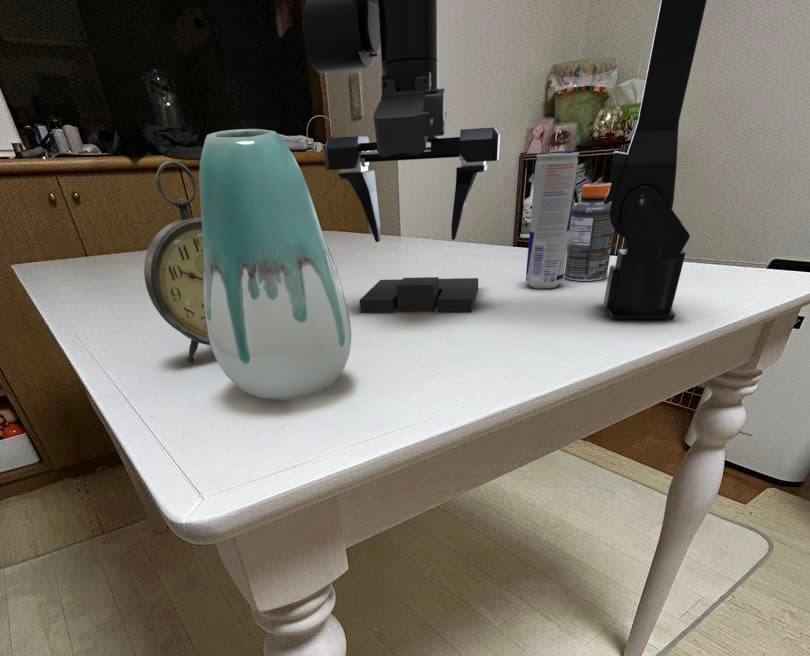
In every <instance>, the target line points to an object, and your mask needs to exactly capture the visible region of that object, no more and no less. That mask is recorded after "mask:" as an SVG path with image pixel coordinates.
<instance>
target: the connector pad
mask: <svg viewBox="0 0 810 656" xmlns="http://www.w3.org/2000/svg"><path fill="white" fill-rule="evenodd" d="M401 279H402V280H401V281H400V282H399V284H398V285H397V302H398V306H397V312H435V311H436V309H437V299H438V297H439V279H440V277H439V276H430V277H429V276H428V277H426V276H425V277H423V276H422V277H403V278H401Z"/></svg>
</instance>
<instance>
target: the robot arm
mask: <svg viewBox="0 0 810 656" xmlns="http://www.w3.org/2000/svg"><path fill="white" fill-rule="evenodd" d="M438 1H439V0H305V3H304V7H303V22H302V23H301V27H302V36H303V42H304V46H305V51H306V53H307V56H308V60H309V61H310V63H311V66H312V67H313V69H314V70H315V71H316V72H317V73H319V74H325V73H335V72H343V71H352V70H361V69H362V70H363V69H370V68H371V67H372V65H373V63H374V61H375V57H379V55H380V56H381V57H380V58H381V84H380V85H381V97H380V101H379V102H378V104H377V107H376V108H375V111H374V112H373V115H372V116H373V117H372V118H373V125H374V132H375V133H374V134H375V141H374V142H370V139H369V136H366V135H365V136H364V135H362V136H361V135H359V136H343V137H342V136H341V137H328V138H327V140H326V142H325V144H324V150H323V156H324V164H325V171H335V170H339V173H338V174H337V175H338V178H339V180H346V181H347V182H348V183H349V184H350V186H351V188H352V190H354V192H355V194H356V196H357V198H358V200H359V202H360V204H361V207H362V209H363V211H364V215H365V218H366V220H367V222H368V225H369V227H370V230H371V233H372V236H373V238H374V241H375V243H379V242H381V219H380V209H379V200H378V191H377V182H376V180H377V179H376V171H375V170H372V169H370V170H369V166H370V163H377V162H378V163H379V162H396V161H413V160H414V161H415V160H432V159H446V158H447V159H449V158H459V161H460V162H461V165H460V166H457V167H456V171H455V172H456V173H455V188H454V196H453V197H454V198H453V207H452V217H451V229H450V230H451V232H450V233H451V240H452V241H455V240H456V238H457V235H458V232H459V228H460V225H461V222H462V218H463V214H464V210H465V207H466V203H467V200H468V197H469V195H470V192H471V190H472V187H473V185H474V182H475V180H476V177H477V174H478V173H484V172H485V171H487V170H488V164H487V163H486V162H496V161H499V159H500V148H501V147H500V144H501V134H500V132H499V131H498V130H497V129H496V128H495V127H480V128H479V127H478V128H466V129H465V128H463V129H460V132H459V136H453V137H442V136H444V135H445V132H446V129H447V121H448V120H447V118H448V117H447V101H446V89H445V88H439V17H438V16H439V15H438V13H439V10H438V6H439V5H438V3H439V2H438ZM707 2H708V0H660V3H659V9H658V14H657V18H656V25H655V29H654V35H653V40H652V46H651V50H650V56H649V61H648V64H647V65H648V66H647V71H646V76H645V82H644V87H643V92H642V97H641V102H640V108H639V113H638V119H637V122H636V126H635V129H634V133H633V135H632V138H631V141H630V143H629V147H628V149H627V152H623V151H618V150H615V151H614V152H613V154H612V164H611V166H612V168H611V169H612V170H611V182H610V183H611V186H610V189H609V191H608V193H607V195H606V197H605V200H604V204H608V203H609V202H611V207H610V220H611V224H612V226H613V228H614V231H615V232H616V233H617V235H619V236H621V237H622V238H624V239H625V244H626V248H625V249H624V248H623V249H618V250H617V255H616V259H615V261H616V262H615V264H612V265H610V267H609V271H608V275H607V281H606V287H605V293H604V300H603V305H604V307H605V309H606V311H607V312H608V314H609V316H610V318H611V319H612V320H674V319H675V317H676V313H675V312H674V310H672V309H673V305H674V302H675V299H676V298H675V297H676V294H677V289H678V285H679V282H680V277H681V273H682V269H683V265H684V262H685V257H686V255H687V253H686V252H685V251H684V248H685V246H687V243H688V241H689V240H690V237H691V236H690V233H689V232H688V230H687V228H686V226H685V225H684V224H683V223H682V221H681V219H680V218H679V217H678V215H677V214H676V213H675V212H674V210H673V207H674V203H675V202H674V200H675V189H676V188H675V187H676V180H677V179H676V177H677V166H678V165H677V164H678V147H679V146H678V144H679V143H678V142H679V126H680V118H681V114H682V110H683V105H684V101H685V96H686V92H687V88H688V83H689V79H690V75H691V70H692V66H693V61H694V57H695V54H696V49H697V45H698V40H699V36H700V31H701V27H702V22H703V18H704V14H705V11H706V7H707ZM428 143H430V146H427V144H428Z"/></svg>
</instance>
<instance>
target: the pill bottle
mask: <svg viewBox="0 0 810 656" xmlns="http://www.w3.org/2000/svg"><path fill="white" fill-rule="evenodd" d="M611 183H612V182H593V183H586V184H583V185H582V188H581V193H580V201H579V202H578V203H576V204H575V205H574V206H572V214H571V222H570V230H569V238H568V245H567V253H566V261H565V269H564V276H563V277H565V278H566V279H567V280H570V281H578V282H591V281H600V280H602V279H604V278H606V277H607V276H608V272H609V271H608V269H609V265H610V257H611V251H612V246H613V239H614V232H615V229H614V228H613V226H612V224H611V220H610V207H611V202H609V203H608V204H604V200H605V197H606V195H607V193H608V191H609V189H610V186H611Z"/></svg>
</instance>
